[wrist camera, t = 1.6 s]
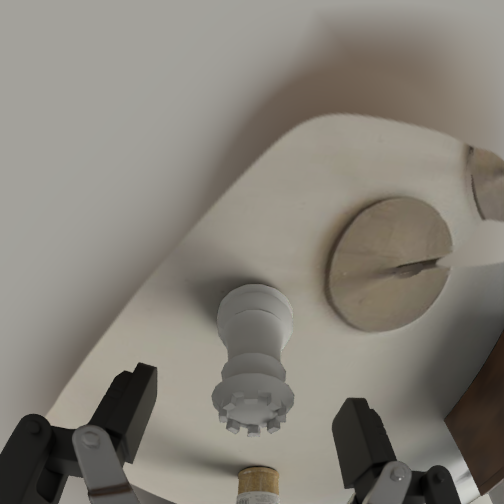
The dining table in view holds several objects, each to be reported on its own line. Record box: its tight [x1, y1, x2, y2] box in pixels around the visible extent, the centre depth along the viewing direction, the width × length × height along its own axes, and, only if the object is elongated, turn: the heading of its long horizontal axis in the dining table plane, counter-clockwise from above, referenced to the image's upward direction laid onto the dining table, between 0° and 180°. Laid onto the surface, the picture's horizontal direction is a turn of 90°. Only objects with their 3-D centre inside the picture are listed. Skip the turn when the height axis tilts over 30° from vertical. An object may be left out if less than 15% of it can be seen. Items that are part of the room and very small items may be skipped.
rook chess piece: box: [212, 284, 294, 437], centre depth 13 cm, size 4×4×8 cm
